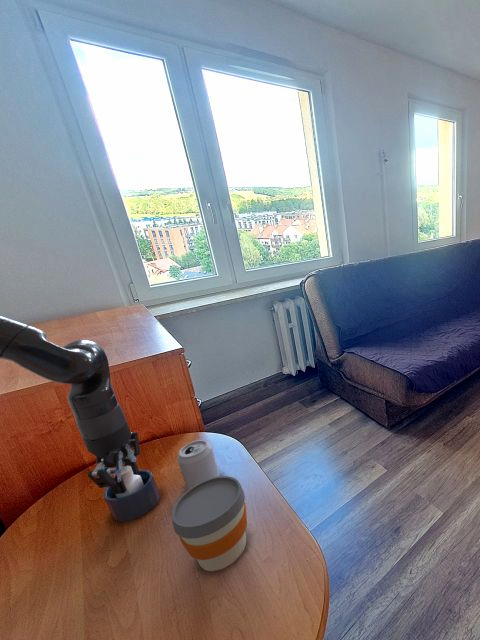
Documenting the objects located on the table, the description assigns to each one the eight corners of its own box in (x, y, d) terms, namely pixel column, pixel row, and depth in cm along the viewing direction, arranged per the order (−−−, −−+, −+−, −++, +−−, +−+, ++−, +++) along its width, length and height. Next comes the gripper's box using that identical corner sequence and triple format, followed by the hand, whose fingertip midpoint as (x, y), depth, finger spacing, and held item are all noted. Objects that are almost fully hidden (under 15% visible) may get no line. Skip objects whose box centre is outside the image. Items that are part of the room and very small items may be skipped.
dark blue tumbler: (128, 527, 78) (118, 505, 75) (105, 514, 81) (94, 492, 78) (168, 496, 86) (160, 475, 83) (145, 485, 89) (137, 465, 86)
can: (192, 475, 92) (181, 440, 88) (223, 469, 94) (213, 435, 90) (183, 497, 85) (170, 461, 81) (216, 490, 87) (205, 454, 83)
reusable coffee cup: (262, 552, 72) (249, 502, 67) (194, 595, 65) (173, 542, 59) (246, 513, 81) (234, 465, 76) (185, 546, 73) (166, 496, 68)
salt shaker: (119, 506, 81) (106, 476, 77) (133, 492, 84) (121, 463, 81) (135, 507, 80) (123, 477, 77) (148, 493, 84) (137, 464, 81)
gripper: (105, 409, 80) (127, 464, 86) (58, 451, 67) (88, 512, 73) (141, 405, 82) (160, 460, 88) (102, 446, 69) (127, 506, 75)
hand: (127, 483), depth 80 cm, fingers closed on salt shaker, 4 cm apart
